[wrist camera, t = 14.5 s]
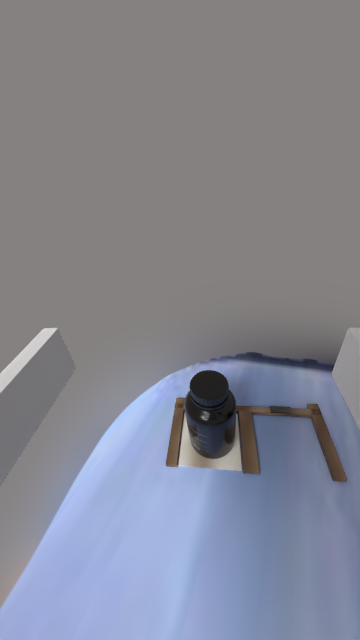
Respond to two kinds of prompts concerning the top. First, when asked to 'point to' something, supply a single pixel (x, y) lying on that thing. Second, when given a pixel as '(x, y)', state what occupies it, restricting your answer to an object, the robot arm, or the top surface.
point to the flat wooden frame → (246, 441)
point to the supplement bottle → (211, 415)
